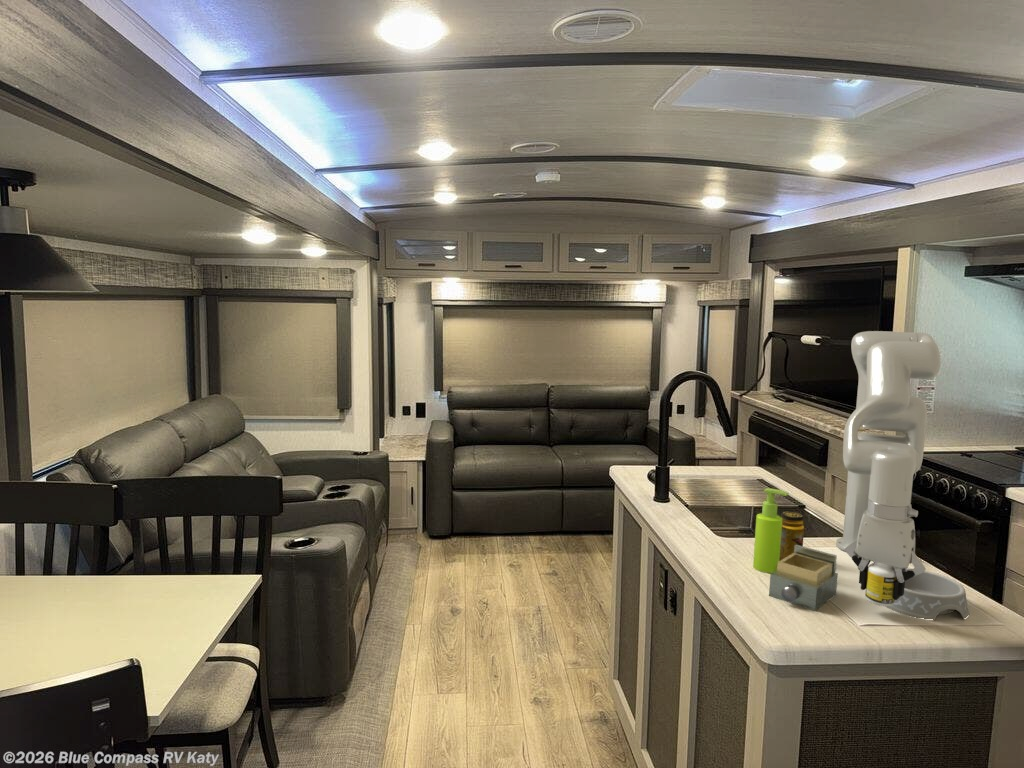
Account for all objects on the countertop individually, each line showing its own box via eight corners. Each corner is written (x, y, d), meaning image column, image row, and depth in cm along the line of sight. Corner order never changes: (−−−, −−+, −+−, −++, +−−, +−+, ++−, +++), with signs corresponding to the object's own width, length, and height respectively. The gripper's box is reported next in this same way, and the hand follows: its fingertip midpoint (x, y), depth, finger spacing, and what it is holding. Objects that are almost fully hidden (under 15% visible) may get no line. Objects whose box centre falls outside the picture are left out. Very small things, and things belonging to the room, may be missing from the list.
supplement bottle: (882, 609, 133) (887, 563, 132) (859, 597, 138) (863, 553, 137) (900, 604, 135) (905, 559, 134) (877, 593, 140) (881, 550, 139)
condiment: (807, 565, 163) (811, 518, 162) (773, 563, 164) (776, 517, 162) (796, 554, 171) (800, 510, 169) (763, 553, 171) (766, 508, 170)
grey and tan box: (791, 580, 153) (794, 544, 152) (836, 594, 146) (839, 556, 145) (764, 598, 143) (767, 558, 142) (811, 613, 136) (814, 572, 135)
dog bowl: (855, 588, 150) (857, 566, 150) (927, 586, 153) (929, 564, 152) (908, 624, 133) (911, 598, 133) (989, 620, 136) (992, 596, 135)
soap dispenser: (779, 576, 156) (784, 494, 154) (750, 568, 160) (755, 489, 158) (785, 568, 160) (791, 489, 158) (757, 561, 165) (762, 484, 162)
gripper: (941, 516, 130) (932, 601, 133) (850, 496, 143) (843, 574, 145) (931, 525, 125) (922, 613, 128) (837, 504, 137) (831, 584, 140)
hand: (880, 591), depth 137 cm, fingers closed on supplement bottle, 5 cm apart
